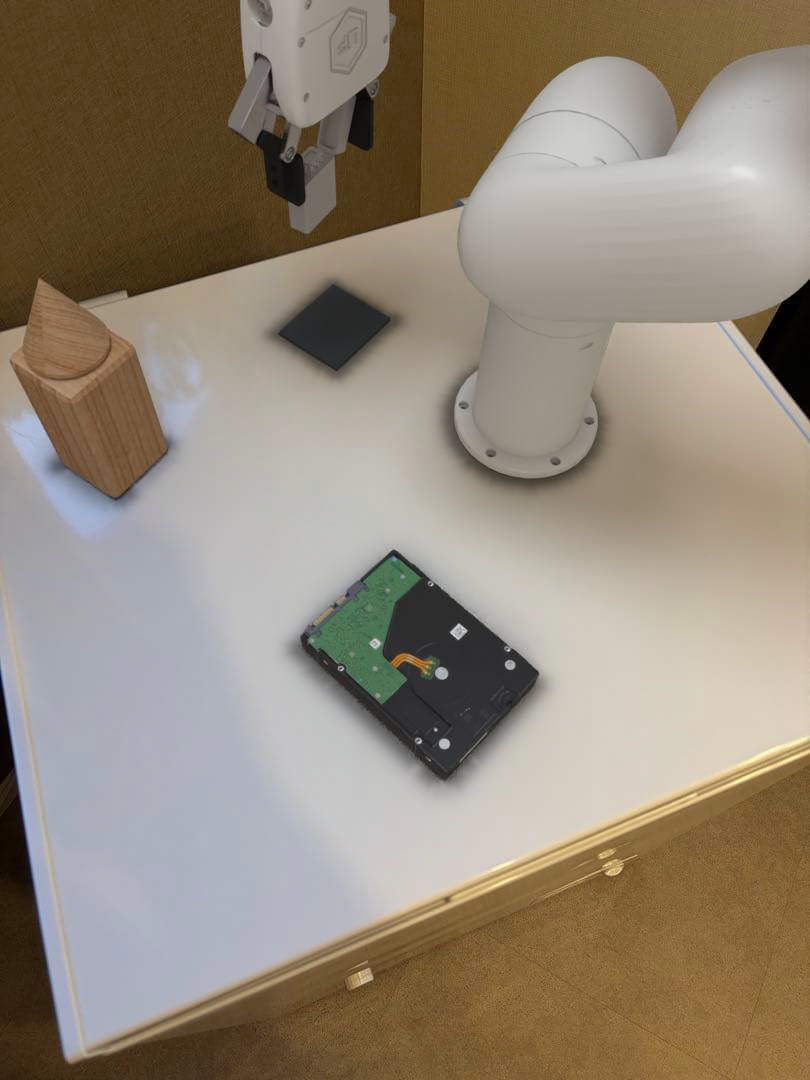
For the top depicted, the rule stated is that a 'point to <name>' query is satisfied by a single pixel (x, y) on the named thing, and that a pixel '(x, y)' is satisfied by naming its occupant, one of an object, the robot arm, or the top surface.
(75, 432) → the decorative item
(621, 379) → the top surface
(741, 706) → the top surface
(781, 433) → the top surface
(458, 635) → the disk drive
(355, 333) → the mat
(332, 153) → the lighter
